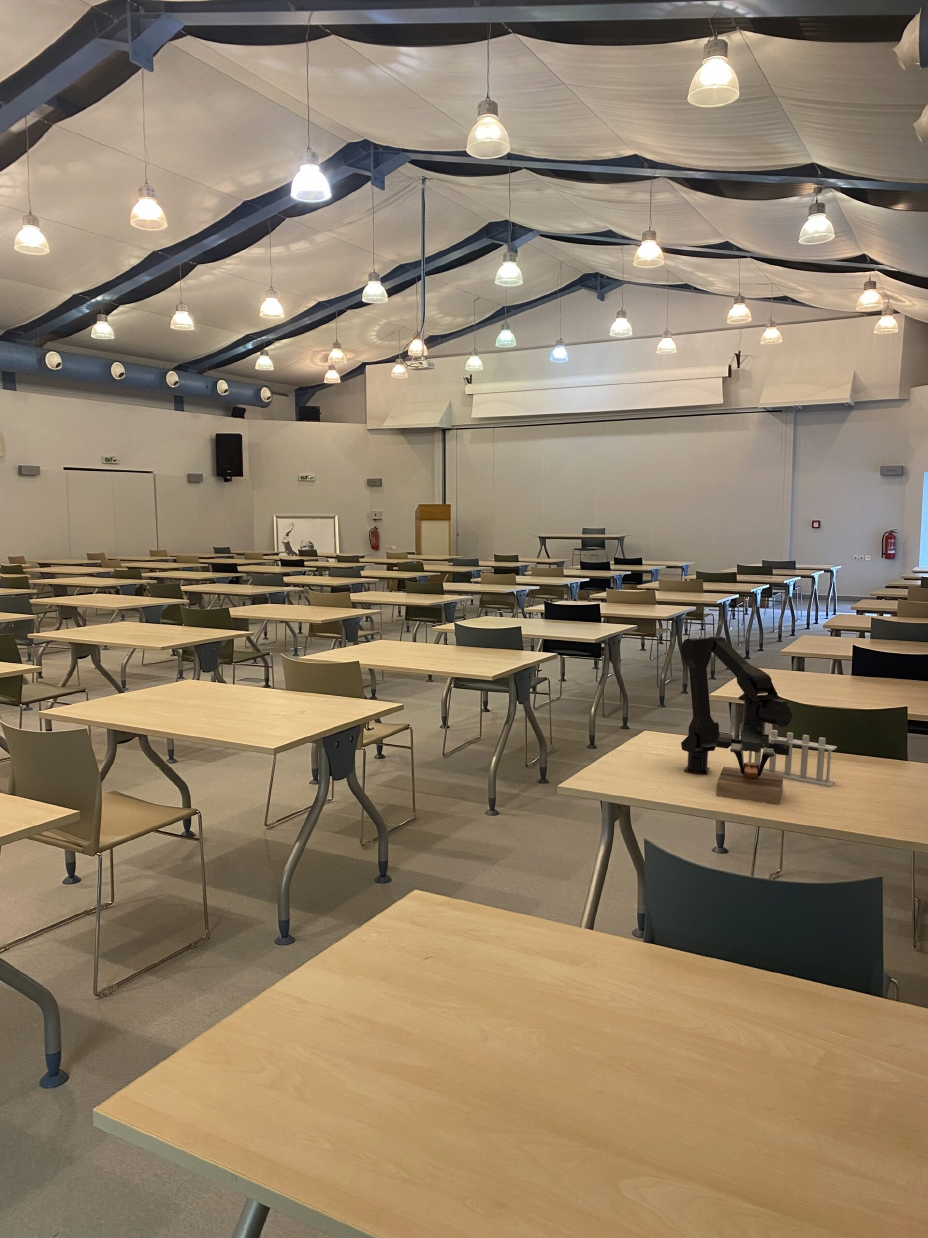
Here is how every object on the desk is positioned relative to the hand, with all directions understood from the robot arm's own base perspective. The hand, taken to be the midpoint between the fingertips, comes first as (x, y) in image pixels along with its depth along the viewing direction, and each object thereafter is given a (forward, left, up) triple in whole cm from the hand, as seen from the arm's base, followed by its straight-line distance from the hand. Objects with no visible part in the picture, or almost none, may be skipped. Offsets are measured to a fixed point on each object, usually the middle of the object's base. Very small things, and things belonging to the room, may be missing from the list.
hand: (751, 775), depth 227 cm
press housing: (0, 0, -5) cm, 5 cm away
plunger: (0, 0, -4) cm, 4 cm away
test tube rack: (-20, +9, -5) cm, 23 cm away
